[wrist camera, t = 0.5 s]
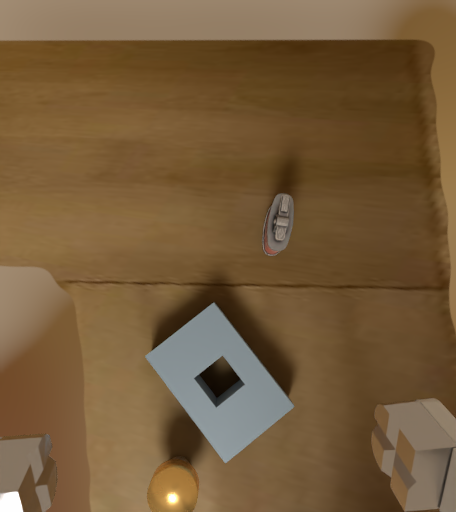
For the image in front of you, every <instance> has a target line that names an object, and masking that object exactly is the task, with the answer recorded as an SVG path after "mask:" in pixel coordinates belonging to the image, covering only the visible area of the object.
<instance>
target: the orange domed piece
mask: <svg viewBox="0 0 456 512" xmlns="http://www.w3.org/2000/svg"><path fill="white" fill-rule="evenodd" d="M198 490H199V478H198V475H197V473H196V471H195V469H194V468H193V467H192V466H191V465H190V463H189V461H188V460H187V459H186V458H184V457H181V456H177V457H174V458H173V459H172V460H168V461H166V462H164V463H162V464H161V465H160V466H159V467H158V468H157V469H156V471H155V472H154V475H153V477H152V480H151V482H150V485H149V488H148V492H147V500H148V504H149V507H150V509H151V511H152V512H192V511H193V510H194V508H195V506H196V503H197V498H198Z"/></svg>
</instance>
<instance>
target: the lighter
mask: <svg viewBox="0 0 456 512" xmlns="http://www.w3.org/2000/svg"><path fill="white" fill-rule="evenodd" d="M293 216H294V207H293V198H292V197H291V196H290V195H288V194H286V193H281V194H278V195H277V196H276V197H275V199H274V201H273V204H272V206H270V208H269V210H268V213H267V215H266V218H265V222H264V227H263V236H262V244H263V251H264V253H265V254H266V255H269V256H274V255H277V254H278V253H279V252H280V251H282V250H283V249H285V248H286V246H287V244H288V241H289V238H290V235H291V231H292V226H293Z"/></svg>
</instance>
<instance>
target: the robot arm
mask: <svg viewBox="0 0 456 512" xmlns="http://www.w3.org/2000/svg"><path fill="white" fill-rule="evenodd" d="M374 417H375V419H376V421H377V422H378V425H377V426H376V427H375V428H374V429H373V430H372V439H371V443H372V449H373V454H374V457H375V459H376V462H377V464H378V466H379V467H380V469H381V471H383V472H384V473H386V474H387V475H388V476H390V477H391V483H390V487H391V489H392V491H393V492H394V494H395V496H396V498H397V499H398V501H399V503H400V505H401V506H402V508H403V510H404V512H406V511H418V510H430V509H440V510H439V511H440V512H456V418H455V417H454V416H453V415H452V414H451V413H450V412H449V411H448V410H447V409H446V408H445V406H444V405H443V404H442V403H441V402H440V401H439V400H437V399H435V398H430V399H420V400H415V401H404V402H393V403H383V404H378V405H377V407H376V408H375V414H374ZM51 449H52V443H51V439H50V435H47V434H35V435H20V436H6V437H5V436H4V437H0V512H45V511H46V510H47V509H48V508H49V507H50V506H51V505H52V502H53V499H54V496H55V492H56V485H57V466H56V461H55V460H53V459H52V458H51V457H50V456H49V454H50V451H51Z"/></svg>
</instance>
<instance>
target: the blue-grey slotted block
mask: <svg viewBox="0 0 456 512" xmlns="http://www.w3.org/2000/svg"><path fill="white" fill-rule="evenodd" d="M222 355H223V357H224V358H225V359H226V360H227V362H228V363H229V364H230V366H231V367H232V368H233V370H234V371H235V372H236V373H237V375H238V376H239V377H240V380H239V381H237V382H236V383H235V384H234V385H232V386H231V387H230V388H229V389H227V390H226V391H225V392H224V393H223V394H221V395H220V396H219V397H218V398H217V397H216V396H215V395H214V394H213V392H212V391H211V390H210V388H209V387H208V386H207V384H206V383H205V382H204V380H203V379H202V378H201V376H200V375H199V374H200V373H201V372H202V371H204V370H205V369H206V368H207V367H209V366H210V365H211V364H212V363H214V362H215V361H216V360H217V359H219V358H220V357H221V356H222ZM145 357H146V358H147V360H148V361H149V362H150V364H151V365H152V366H153V368H154V369H155V370H156V372H157V373H158V374H159V376H160V377H161V378H162V380H163V381H164V382H165V384H166V385H167V386H168V388H169V389H170V390H171V392H172V393H173V394H174V396H175V397H176V398H177V400H178V401H179V402H180V404H181V405H182V406H183V408H184V409H185V410H186V412H187V413H188V414H189V416H190V417H191V418H192V420H193V421H194V422H195V424H196V425H197V426H198V428H199V429H200V430H201V432H202V433H203V434H204V436H205V437H206V438H207V440H208V441H209V442H210V444H211V445H212V446H213V448H214V449H215V450H216V452H217V453H218V454H219V456H220V457H221V458H222V460H223V461H224V462H225V463H227V462H228V461H229V460H230V459H231V458H233V457H234V456H235V455H236V454H238V453H239V452H240V451H241V450H242V449H244V448H245V447H246V446H247V445H248V444H250V443H251V442H252V441H253V440H255V439H256V438H257V437H258V436H259V435H261V434H262V433H263V432H264V431H265V430H267V429H268V428H269V427H270V426H272V425H273V424H274V423H275V422H276V421H278V420H279V419H280V418H281V417H283V416H284V415H285V414H286V413H287V412H289V411H290V410H291V409H292V408H293V407H294V405H293V403H292V402H291V400H290V399H289V397H288V396H287V394H286V393H285V392H284V391H283V389H282V388H281V387H280V385H279V384H278V383H277V381H276V380H275V379H274V378H273V376H272V375H271V374H270V372H269V371H268V370H267V369H266V367H265V366H264V365H263V363H262V362H261V361H260V360H259V358H258V357H257V356H256V354H255V353H254V352H253V351H252V349H251V348H250V347H249V345H248V344H247V343H246V341H245V340H244V339H243V338H242V336H241V335H240V334H239V332H238V331H237V330H236V329H235V327H234V326H233V325H232V323H231V322H230V321H229V320H228V318H227V317H226V316H225V314H224V313H223V312H222V311H221V309H220V308H219V307H218V305H217V304H216V303H215V302H213V303H212V304H211V305H210V306H208V307H207V308H206V309H205V310H203V311H202V312H201V313H199V314H198V315H197V316H196V317H194V318H193V319H192V320H191V321H189V322H188V323H187V324H185V325H184V326H183V327H182V328H180V329H179V330H178V331H177V332H175V333H174V334H173V335H171V336H170V337H169V338H168V339H166V340H165V341H164V342H163V343H161V344H160V345H159V346H157V347H156V348H155V349H154V350H152V351H151V352H150V353H149V354H147V355H146V356H145Z"/></svg>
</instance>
